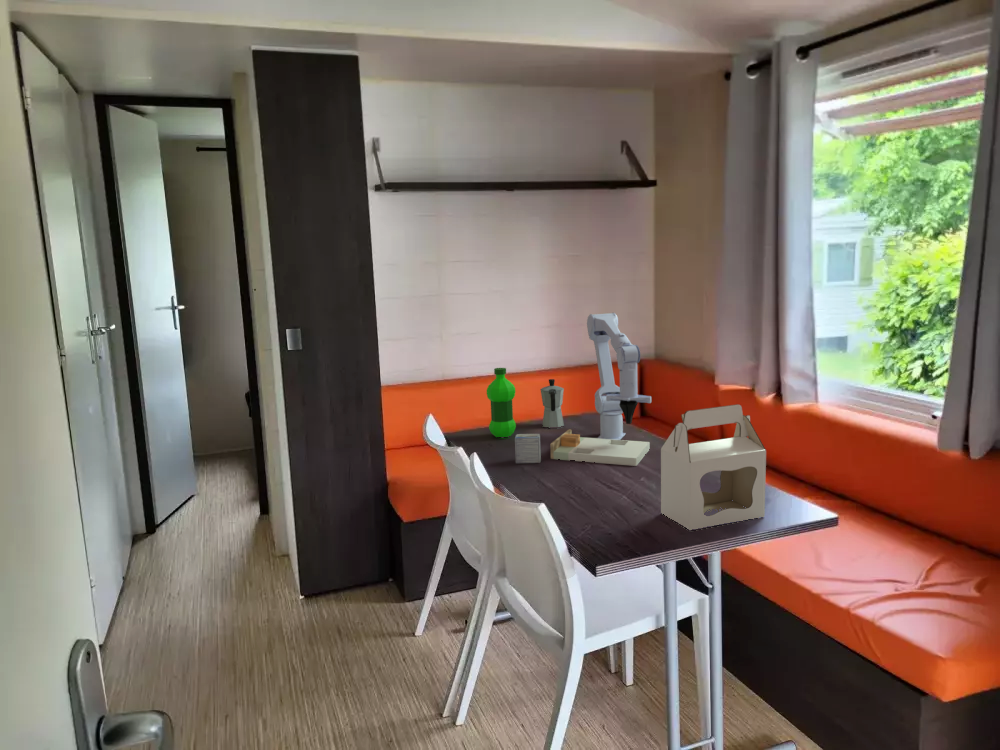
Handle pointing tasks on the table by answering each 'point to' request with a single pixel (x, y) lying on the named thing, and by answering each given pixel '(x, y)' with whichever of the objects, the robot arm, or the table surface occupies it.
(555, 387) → the coffee maker
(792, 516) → the table surface
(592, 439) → the deck
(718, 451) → the gable box
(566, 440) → the block
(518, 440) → the medicine box
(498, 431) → the plastic bottle
